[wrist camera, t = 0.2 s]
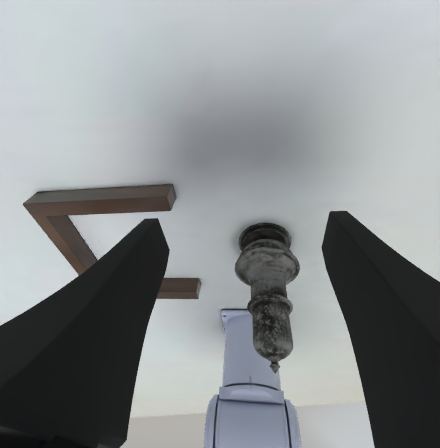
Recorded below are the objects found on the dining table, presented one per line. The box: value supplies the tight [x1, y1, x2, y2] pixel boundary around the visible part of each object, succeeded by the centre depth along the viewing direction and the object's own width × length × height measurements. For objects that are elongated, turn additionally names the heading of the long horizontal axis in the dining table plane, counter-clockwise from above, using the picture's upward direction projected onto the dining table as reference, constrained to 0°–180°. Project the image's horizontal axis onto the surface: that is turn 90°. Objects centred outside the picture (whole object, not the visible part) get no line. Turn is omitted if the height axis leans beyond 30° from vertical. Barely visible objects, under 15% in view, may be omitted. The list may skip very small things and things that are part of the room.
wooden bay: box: [23, 184, 201, 299], centre depth 26 cm, size 15×14×2 cm
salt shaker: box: [235, 223, 300, 374], centre depth 20 cm, size 6×6×12 cm
